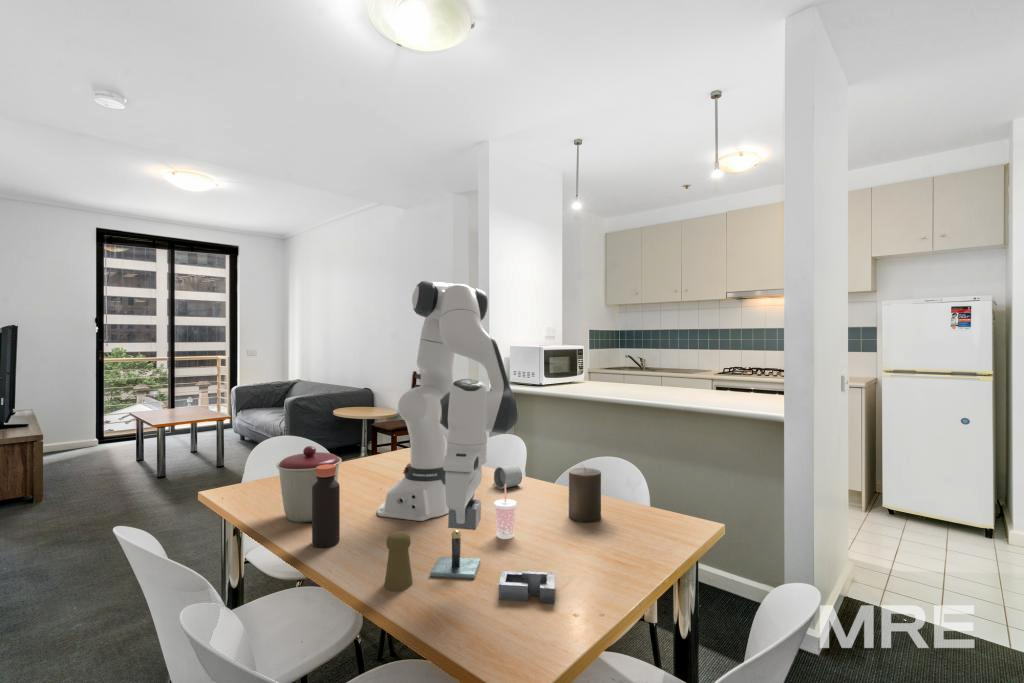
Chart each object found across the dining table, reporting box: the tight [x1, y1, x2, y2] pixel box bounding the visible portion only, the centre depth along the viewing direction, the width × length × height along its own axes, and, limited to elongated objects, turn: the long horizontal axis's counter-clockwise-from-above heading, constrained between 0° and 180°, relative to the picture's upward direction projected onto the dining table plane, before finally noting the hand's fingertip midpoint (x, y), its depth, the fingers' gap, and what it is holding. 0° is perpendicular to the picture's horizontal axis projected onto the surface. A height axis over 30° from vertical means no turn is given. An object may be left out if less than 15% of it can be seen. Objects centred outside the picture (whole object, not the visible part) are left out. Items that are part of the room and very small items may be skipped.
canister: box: [276, 445, 342, 523], centre depth 150 cm, size 18×18×21 cm
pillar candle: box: [568, 467, 602, 523], centre depth 150 cm, size 10×10×15 cm
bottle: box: [311, 464, 341, 549], centre depth 131 cm, size 7×7×20 cm
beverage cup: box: [493, 484, 517, 540], centre depth 136 cm, size 6×6×14 cm
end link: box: [447, 498, 482, 531], centre depth 111 cm, size 6×6×4 cm
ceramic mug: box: [493, 465, 523, 490], centre depth 182 cm, size 11×8×8 cm
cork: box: [384, 531, 413, 592], centre depth 109 cm, size 6×6×11 cm
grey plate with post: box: [429, 529, 481, 580], centre depth 116 cm, size 10×8×9 cm
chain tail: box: [498, 570, 556, 605], centre depth 105 cm, size 12×7×4 cm, turn 84°
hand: (464, 516), depth 111 cm, fingers closed on end link, 6 cm apart
